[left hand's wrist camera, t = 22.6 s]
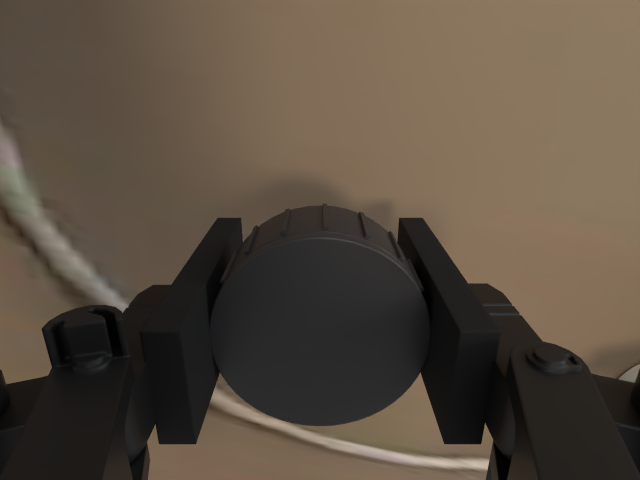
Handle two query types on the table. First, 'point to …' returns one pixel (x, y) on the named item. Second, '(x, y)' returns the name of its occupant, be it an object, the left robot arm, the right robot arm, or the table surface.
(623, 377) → the jar
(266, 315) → the lid
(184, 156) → the table surface
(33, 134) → the table surface
